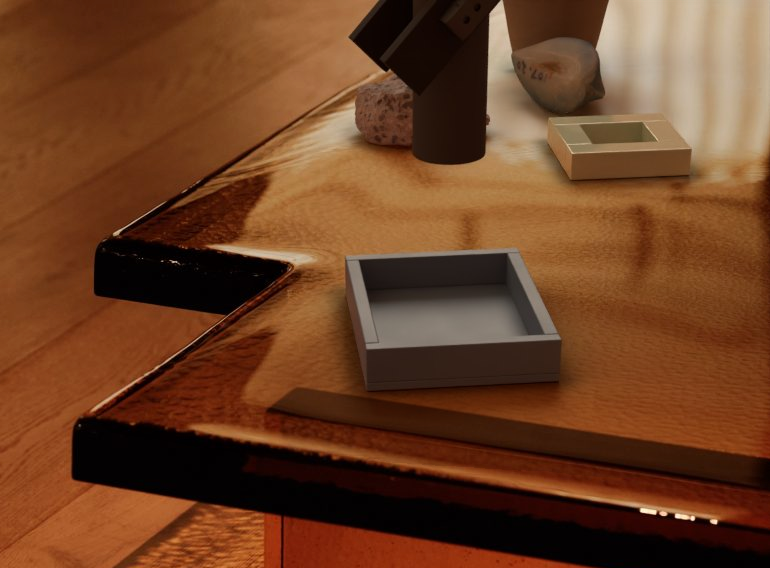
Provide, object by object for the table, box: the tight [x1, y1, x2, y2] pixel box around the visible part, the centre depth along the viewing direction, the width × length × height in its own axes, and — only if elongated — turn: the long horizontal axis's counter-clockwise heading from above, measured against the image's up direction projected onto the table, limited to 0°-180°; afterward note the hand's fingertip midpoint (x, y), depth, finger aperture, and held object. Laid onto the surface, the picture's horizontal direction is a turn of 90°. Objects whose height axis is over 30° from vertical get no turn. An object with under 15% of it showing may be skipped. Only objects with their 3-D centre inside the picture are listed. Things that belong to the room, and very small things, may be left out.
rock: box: [354, 73, 491, 147], centre depth 125 cm, size 9×11×4 cm
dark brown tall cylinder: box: [411, 0, 491, 166], centre depth 84 cm, size 4×4×15 cm
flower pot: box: [502, 0, 610, 53], centre depth 139 cm, size 12×11×10 cm
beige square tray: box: [546, 112, 693, 181], centre depth 119 cm, size 9×9×2 cm
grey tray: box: [344, 247, 563, 392], centre depth 92 cm, size 14×11×2 cm
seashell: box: [510, 37, 606, 115], centre depth 131 cm, size 6×9×10 cm
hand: (383, 65), depth 84 cm, fingers closed on dark brown tall cylinder, 4 cm apart
